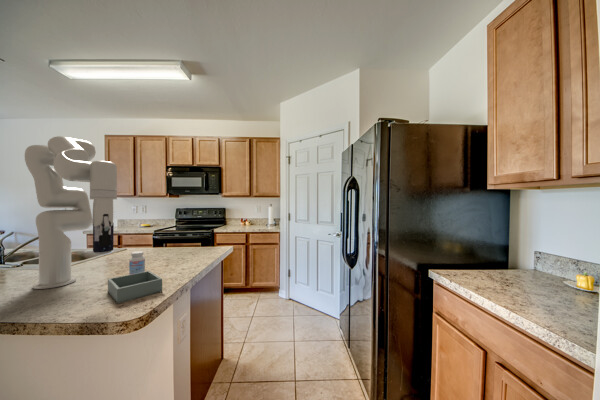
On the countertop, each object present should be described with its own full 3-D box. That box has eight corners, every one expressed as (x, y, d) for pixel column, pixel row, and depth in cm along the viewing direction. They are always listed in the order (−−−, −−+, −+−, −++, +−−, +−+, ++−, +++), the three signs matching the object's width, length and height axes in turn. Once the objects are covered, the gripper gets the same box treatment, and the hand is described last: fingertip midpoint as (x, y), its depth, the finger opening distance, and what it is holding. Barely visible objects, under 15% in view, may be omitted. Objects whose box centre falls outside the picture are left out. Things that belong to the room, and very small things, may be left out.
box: (107, 291, 90) (107, 278, 90) (149, 282, 100) (149, 270, 100) (117, 303, 79) (117, 289, 79) (162, 291, 90) (162, 278, 90)
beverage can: (117, 251, 86) (117, 219, 86) (102, 255, 80) (102, 220, 80) (104, 251, 87) (104, 219, 87) (88, 254, 81) (88, 220, 81)
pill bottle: (127, 279, 105) (128, 254, 105) (130, 275, 110) (130, 251, 110) (143, 277, 107) (144, 252, 107) (145, 273, 113) (145, 250, 113)
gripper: (87, 195, 87) (87, 243, 87) (92, 194, 75) (92, 250, 75) (112, 196, 92) (112, 241, 92) (121, 195, 81) (121, 246, 81)
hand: (103, 244), depth 84 cm, fingers closed on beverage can, 5 cm apart
